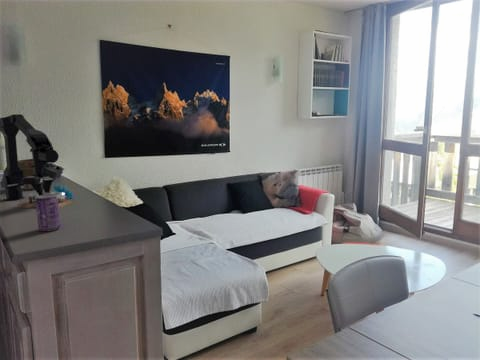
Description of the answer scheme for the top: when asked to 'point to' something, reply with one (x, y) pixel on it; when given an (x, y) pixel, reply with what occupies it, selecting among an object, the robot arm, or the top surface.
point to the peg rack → (32, 205)
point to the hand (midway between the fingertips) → (44, 196)
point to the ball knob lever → (59, 195)
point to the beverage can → (47, 212)
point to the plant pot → (27, 170)
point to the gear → (59, 189)
